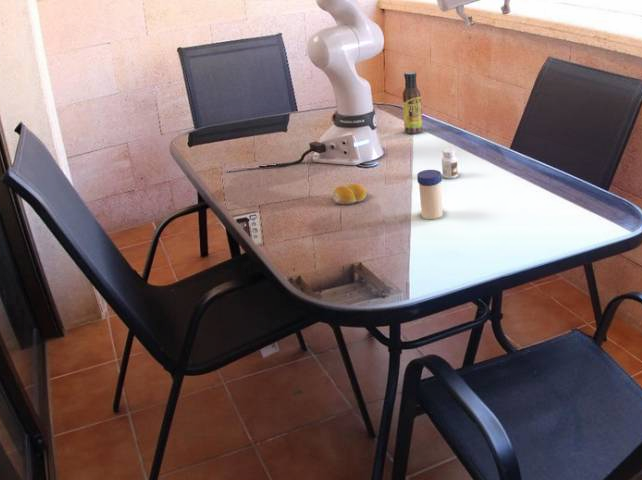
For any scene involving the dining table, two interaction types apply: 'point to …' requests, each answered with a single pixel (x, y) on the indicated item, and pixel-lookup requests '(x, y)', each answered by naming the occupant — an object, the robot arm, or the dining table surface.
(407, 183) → the dining table surface
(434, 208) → the beige cylinder
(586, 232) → the dining table surface
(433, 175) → the lid
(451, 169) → the pill bottle
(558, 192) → the dining table surface
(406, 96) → the sauce bottle
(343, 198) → the bread roll
